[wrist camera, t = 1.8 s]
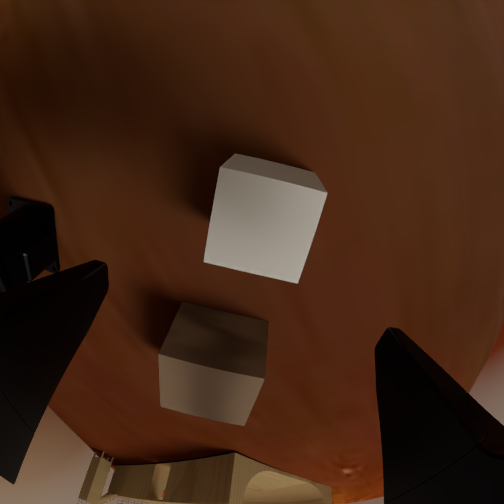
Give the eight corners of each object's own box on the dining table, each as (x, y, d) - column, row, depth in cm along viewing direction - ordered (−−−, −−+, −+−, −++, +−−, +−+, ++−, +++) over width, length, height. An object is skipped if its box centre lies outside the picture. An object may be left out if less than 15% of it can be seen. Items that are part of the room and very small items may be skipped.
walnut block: (178, 356, 26) (160, 406, 20) (182, 300, 23) (158, 353, 17) (250, 373, 26) (244, 425, 20) (268, 320, 23) (264, 378, 17)
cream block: (220, 226, 19) (203, 261, 15) (235, 153, 17) (219, 166, 13) (293, 243, 19) (297, 283, 15) (314, 172, 17) (327, 192, 13)
